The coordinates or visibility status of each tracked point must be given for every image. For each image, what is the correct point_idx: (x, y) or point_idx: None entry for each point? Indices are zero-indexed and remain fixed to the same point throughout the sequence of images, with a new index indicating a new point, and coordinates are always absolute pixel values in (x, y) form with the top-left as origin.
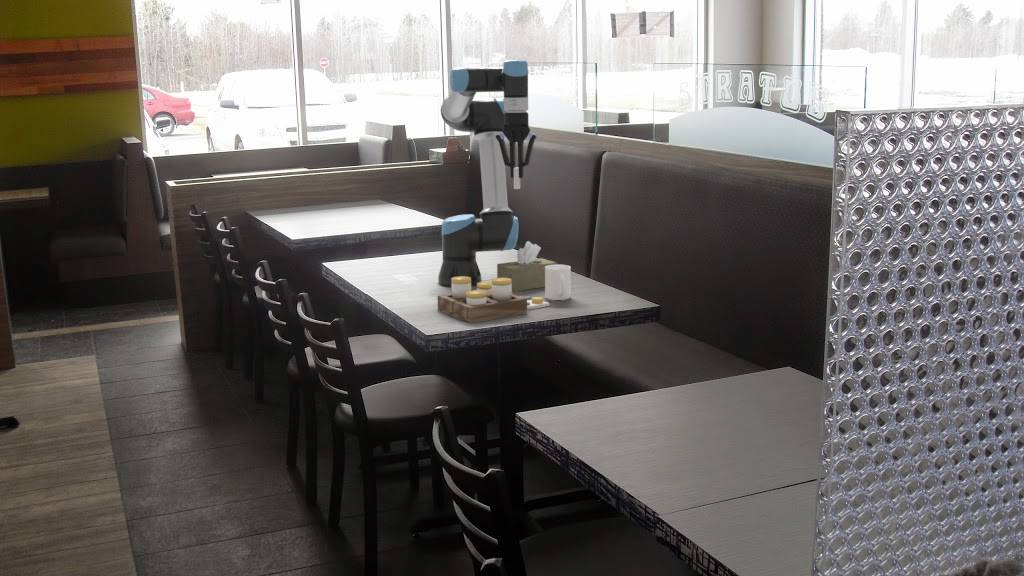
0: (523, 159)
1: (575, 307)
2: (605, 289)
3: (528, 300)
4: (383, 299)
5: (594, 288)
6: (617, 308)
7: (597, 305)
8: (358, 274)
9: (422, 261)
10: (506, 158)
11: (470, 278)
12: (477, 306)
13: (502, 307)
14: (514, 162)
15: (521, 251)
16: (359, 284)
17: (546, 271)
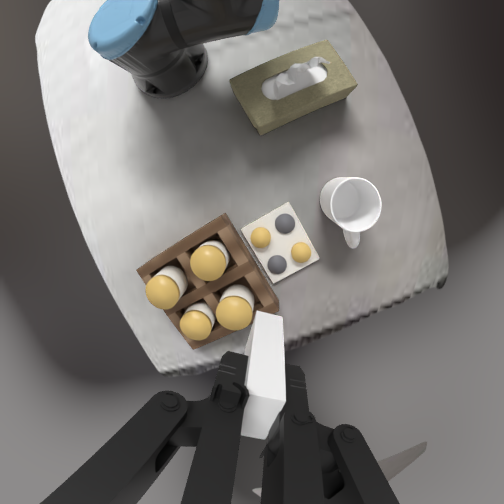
0: (319, 460)
1: (357, 269)
2: (419, 150)
3: (286, 236)
4: (73, 190)
5: (404, 138)
6: (409, 280)
7: (389, 260)
8: (52, 48)
9: None
10: (158, 471)
11: (177, 297)
12: (202, 344)
13: None
14: (232, 432)
15: (283, 80)
16: (48, 102)
17: (330, 214)
